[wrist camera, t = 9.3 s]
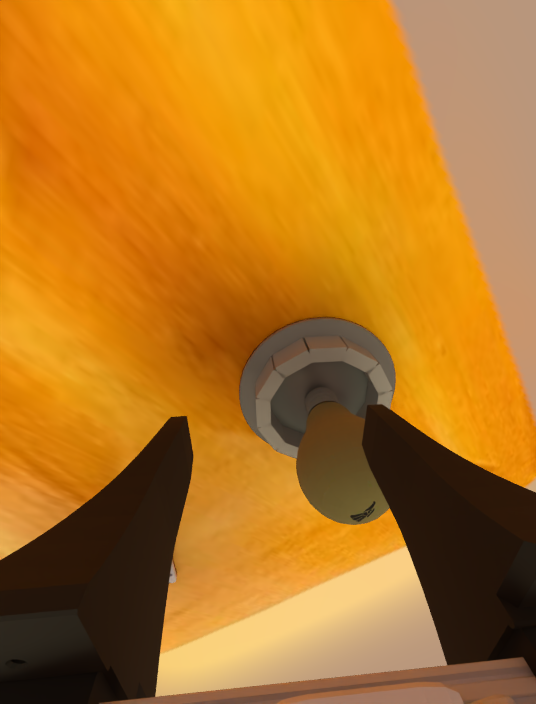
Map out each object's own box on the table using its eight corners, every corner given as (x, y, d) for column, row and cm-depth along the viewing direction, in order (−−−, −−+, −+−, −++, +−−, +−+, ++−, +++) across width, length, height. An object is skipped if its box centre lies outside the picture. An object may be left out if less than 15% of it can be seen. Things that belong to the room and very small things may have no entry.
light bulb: (337, 431, 25) (388, 555, 16) (273, 417, 24) (290, 542, 15) (366, 374, 23) (444, 481, 14) (297, 355, 22) (333, 459, 13)
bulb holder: (381, 444, 27) (394, 466, 25) (244, 454, 26) (244, 477, 24) (404, 313, 22) (422, 325, 20) (234, 321, 21) (232, 335, 19)
